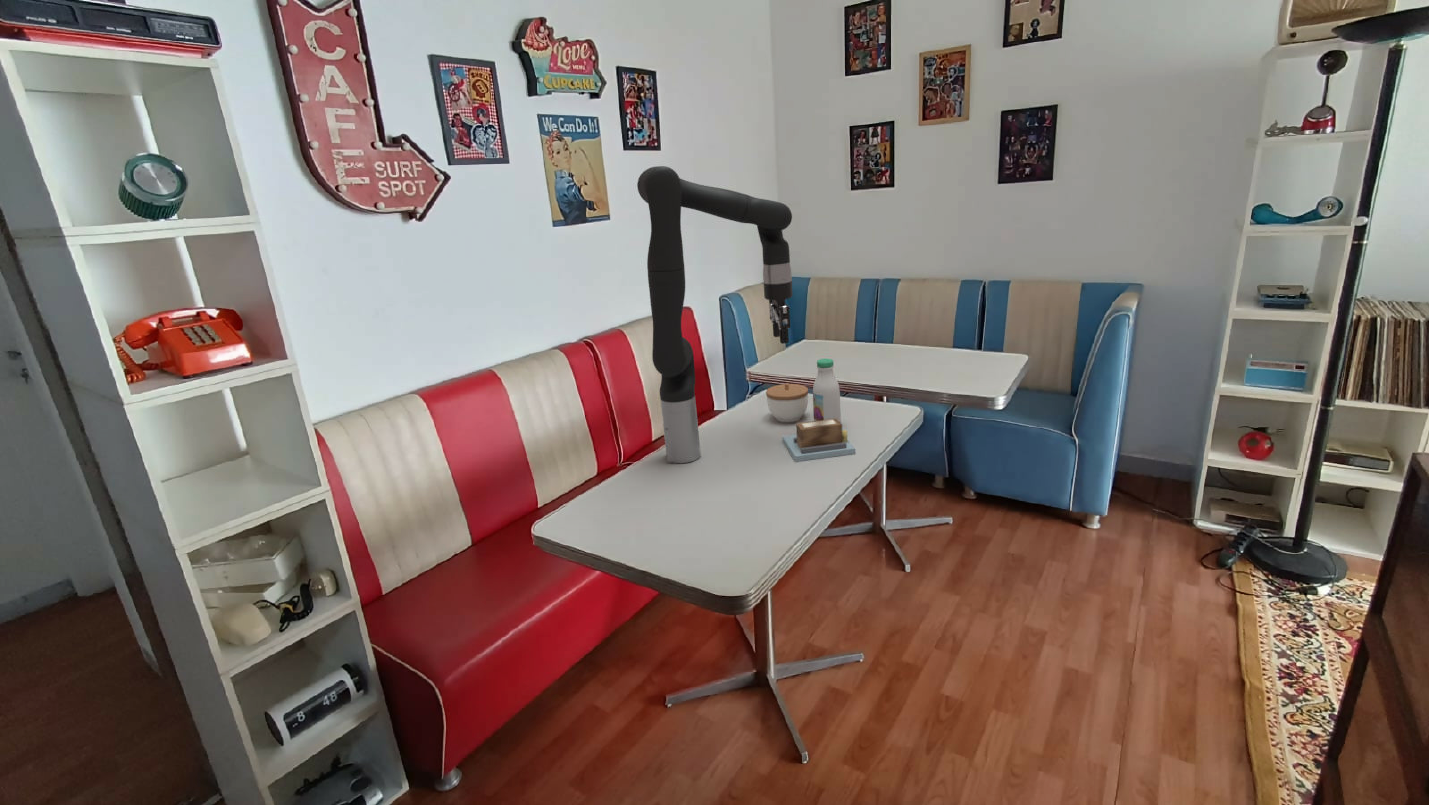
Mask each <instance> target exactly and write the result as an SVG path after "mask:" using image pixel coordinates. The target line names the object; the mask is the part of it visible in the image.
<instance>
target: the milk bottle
mask: <svg viewBox="0 0 1429 805" xmlns="http://www.w3.org/2000/svg"><path fill="white" fill-rule="evenodd" d="M833 368H834V360H833V359H831V358H821V359H818V360H817V361H816V369H817V375H816V378H815V380H814V382H813V385H812V386H813V388H812V404H813V405H812V407H813V408H812V409H813V410H812V411H813V421H819V420H827V419H835V418H836V419H837V420H838V421H839V422H840V423H841V422H842V418H841V417H842V416H841V415H842V414H841V411H842V410H841V392H840V390H841V389H840V385H839V382H838V380H837V378H836V376H835V373H834V369H833ZM841 424H842V423H841Z"/></svg>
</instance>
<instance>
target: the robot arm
mask: <svg viewBox="0 0 1429 805" xmlns="http://www.w3.org/2000/svg"><path fill="white" fill-rule="evenodd" d="M636 188H637V192H638V194H639V196H640V198H641V199H642V200H643V201H644V202H645V203H647V204H648V211H649V217H650V230H651V232H650V239H649V244H648V250H647V251H648V252H647V259H646V260H647V262H646V264H647V265H646V266H647V280H648V281H647V282H648V288H649V299H650V309H651V316H652V317H651V318H652V363H653V366H654V368H655V370H656V371H657V372H658V373H659V374H660V375H661V380H660V387H659V398H660V408H661V415H662V422H663V423H662V426H663V435H664V436H663V437H664V444H665V453H666V454H665V455H666V459H667V463H668V464H670V463H672V464H673V463H674V464H687V463H692V462H694V461H697V460H698V459H700V458H701V457H702V454H701V444H700V434H699V425H698V424H699V422H698V414H697V413H698V412H697V404H696V395H695V394H696V392H695V387H696V370H695V357H694V350H693V347H692V345H691V343H690V342H689V340H688V339H686V337H683V333H682V332H683V331H682V316H683V309H684V304H685V297H686V296H685V294H686V271H685V259H684V247H683V246H684V245H683V236H682V225H681V223H682V222H681V220H682V219H681V217H682V214H681V212H682V208H686V209H691V210H695V211H698V212H702V213H705V214H708V215H711V216H714V217H718V218H721V219H725V220H728V221H733V222H737V223H740V224H749V225H750V224H751V225H755V226H756V227H757V232H758V236H759V237H758V238H759V239H760V244H761V248H762V264H763V265H762V266H763V267H762V279H763V280H762V281H763V293H764V294H763V296H764V299H765V300H767V301H768V302H769V305H768V306H769V320H770V322H771V324H772V331H773V332H772V334H773V337H774V338H778V337H779V343H780V344H788V343H789V339H790V338H789V329H790V328H791V326H792V325H791V317H790V316H791V315H790V305H789V304H786V300H788V299H791V298H792V297H793V278H792V268H791V267H792V266H791V262H790V261H791V260H790V257H791V256H790V246H789V243H788V241H787V240H786V239H785V238H784V235H783V234H784V233H783V230H786V229H787V228H788V227H789V226H790V224H791V223H792V219H793V214H792V211H791V209H790V207H789V206H788V205H787V204H785V203H783V202H780V201H774V200H770V199H764V198H759V197H758V198H757V197H755V196H751V195H749V194H746V193H743V192H742V193H741V192H738V191H734V190H732V189H731V190H730V189H725V188H721V187H714V186H710V185H704V184H699V183H695V182H692V181H688V180H685V179H683V178H680V176H679V174H678V173H677V172H676V171H675V170H674V169H672V168H671V167H669V166H664V165H658V166H652V167H649V168H647V169H645V170H644V171H642V173H641V174H640V175H639V177H638V179H637V187H636Z"/></svg>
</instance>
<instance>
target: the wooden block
mask: <svg viewBox="0 0 1429 805" xmlns="http://www.w3.org/2000/svg"><path fill="white" fill-rule="evenodd" d="M795 426H796V435H797V445H798V446H799V447H800V449H801V448H805V447H813V446H820V445H828V444H835V443H842V431H843V424H842V423H840V422H839V421H838V420H837V419H836V418H835V419H827V420H819V421H814V420H812V421H804V422H798V423H796V425H795Z"/></svg>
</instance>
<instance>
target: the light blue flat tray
mask: <svg viewBox="0 0 1429 805" xmlns="http://www.w3.org/2000/svg"><path fill="white" fill-rule="evenodd" d="M781 437H782V442H783V444H784V446H785V448H786V449H787V450H788V452H789V453H790V456H791V457H792V458H793V460H794V461H795V463H796V462H805V461H811V460H819V459H826V458H832V457H841V456H848V455H855V454H856V448H855V447H854V445H853V444H852V443H851V442H850V440H848V439H849V438H848V430H846V429H844V430H843V429H842V443H835V444H828V445H820V446H813V447H805V448H801V449H800V447H799V446H798V445H797V434H790V435H784V436H781Z"/></svg>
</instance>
